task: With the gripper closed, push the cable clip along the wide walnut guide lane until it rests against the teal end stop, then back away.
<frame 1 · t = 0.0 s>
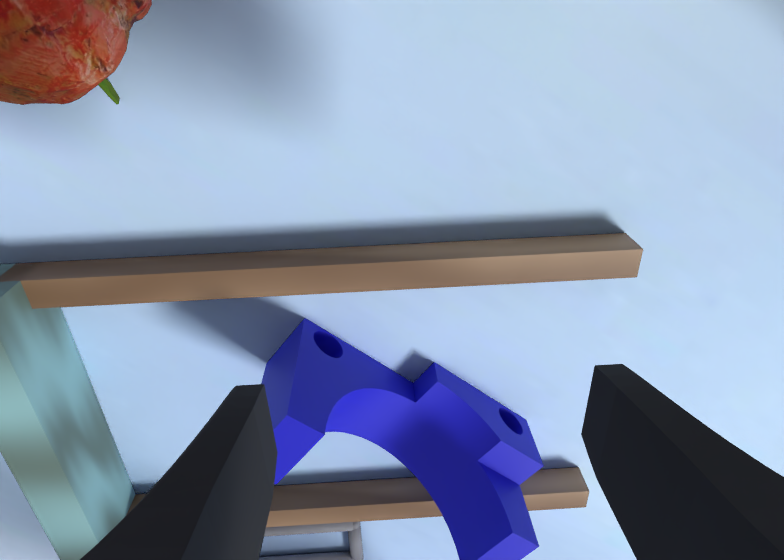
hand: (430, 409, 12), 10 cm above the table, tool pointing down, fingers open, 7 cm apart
cord loop: (247, 542, 29), on the table
guide lane: (340, 390, 24), on the table
cable clip: (402, 387, 25), resting in guide lane
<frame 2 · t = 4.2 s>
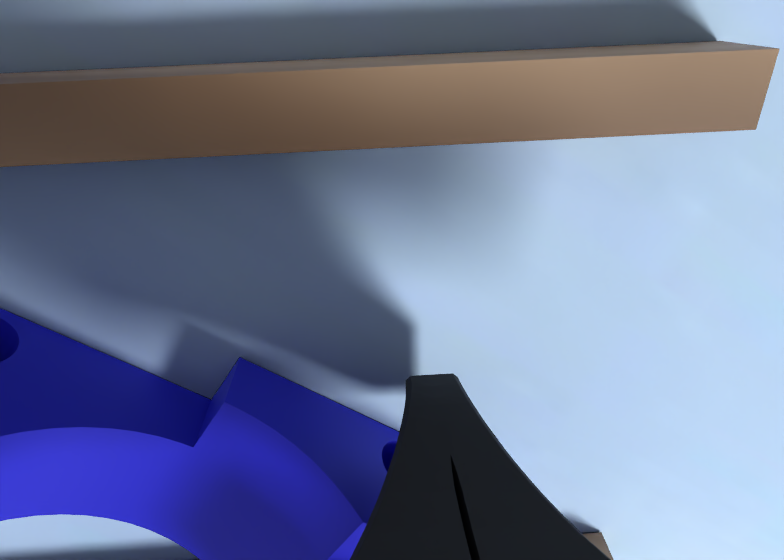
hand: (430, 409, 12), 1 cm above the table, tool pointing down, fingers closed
guide lane: (141, 400, 12), on the table
cable clip: (200, 414, 13), resting in guide lane, touching gripper
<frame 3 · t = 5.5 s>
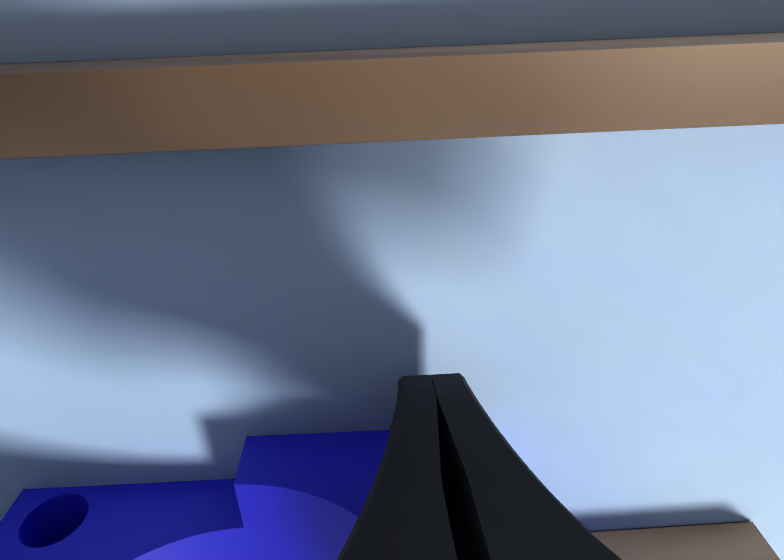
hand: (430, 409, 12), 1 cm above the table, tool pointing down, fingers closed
guide lane: (333, 386, 12), on the table
cable clip: (260, 489, 14), resting in guide lane, touching gripper
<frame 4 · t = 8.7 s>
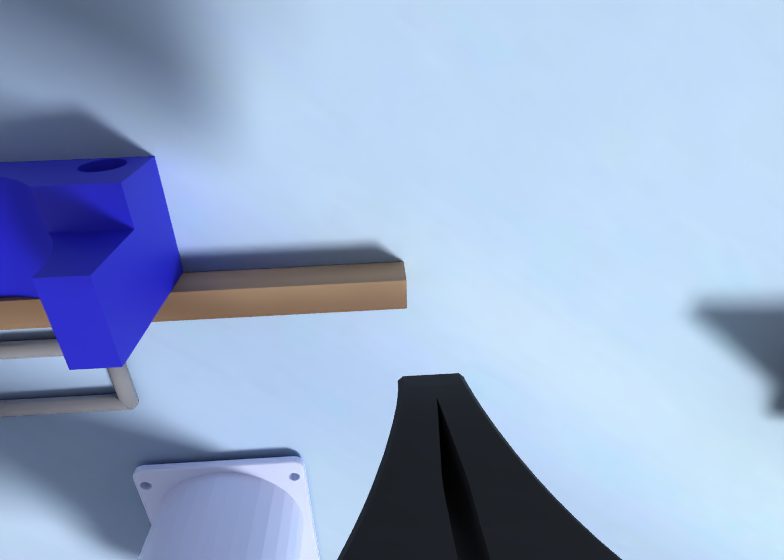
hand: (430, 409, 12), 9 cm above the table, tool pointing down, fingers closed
guide lane: (31, 113, 17), on the table
cable clip: (8, 220, 19), resting in guide lane
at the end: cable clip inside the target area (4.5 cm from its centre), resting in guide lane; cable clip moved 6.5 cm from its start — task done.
